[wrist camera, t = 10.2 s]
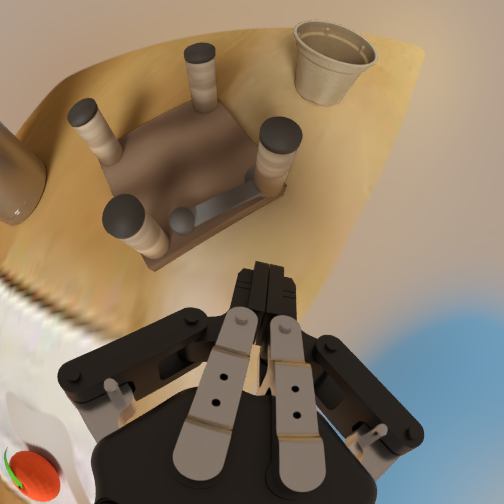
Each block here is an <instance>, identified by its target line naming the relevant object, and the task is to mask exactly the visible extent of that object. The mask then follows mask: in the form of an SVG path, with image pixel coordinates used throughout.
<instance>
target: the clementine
mask: <svg viewBox="0 0 504 504" xmlns="http://www.w3.org/2000/svg"><path fill="white" fill-rule="evenodd" d="M6 450H7V449H6ZM4 460H5V465H6V468H7V471H8V473H9V475H10V477H11V478H12V481H13V483H14V484H15V486H16V487H17V488H18V489H19V490H20V491H21V492H22V493H23V494H24V495H26V496H28V497H29V498H31V499H33V500H36V501H41V502H46V501H50V500H52V499H54V498H56V496H57V495H58V493H59V491H60V480H59V476H58V474H57V472H56V470H55V469H54V467H53V466H52V465H51V464H50V463H49V462H48V461H47V460H46V459H45V458H44V457H42V456H41V455H39V454H36V453H34V452H30V451H21V452H17V453H16V454H15V455H14V456H13V457H12V458H11V460H10V462H9V465H8V462H7V459H6V451H5V454H4Z"/></svg>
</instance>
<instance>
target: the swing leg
mask: <svg viewBox="0 0 504 504" xmlns="http://www.w3.org/2000/svg"><path fill="white" fill-rule="evenodd" d="M302 137H303V134H302V130H301V128H300V127H299V125H298V124H297V123H296V122H294V121H293V120H291V119H289V118H285V117H272V118H269V119H267V120H266V121H264V123H263V124H262V125H261V128H260V135H259V138H260V140H259V147H258V153H257V160H256V167H255V173H254V179H252V180H250V181H248V182H246V183H244V184H241V185H239V186H237V187H235V188H233V189H231V190H228V191H226V192H224V193H222V194H220V195H218V196H216V197H214V198H212V199H209V200H207V201H205V202H203V203H201V204H199V205H197V206H195V207H193V208H191V209H188V208H185V207H179V208H176V209H175V210H173V211H172V212H171V214H170V216H169V224H170V226H171V227H172V229H173V230H174V231H175V233H177V234H178V235H182V236H185V235H188V234H190V233H191V232H192V231H193V230H194V228H195V227H196V226H198V225H200V224H202V223H204V222H206V221H208V220H210V219H212V218H214V217H216V216H218V215H220V214H222V213H225V212H227V211H229V210H231V209H233V208H235V207H237V206H239V205H241V204H243V203H245V202H247V201H250V200H252V199H254V198H256V197H258V196H260V195H262V196H265V197H273V196H276V195H278V194H279V193H280V192H281V190H282V188H283V185H284V183H285V180H286V177H287V175H288V172H289V170H290V167H291V164H292V162H293V159H294V157H295V154H296V151H297V149H298V147H299V146H300V143H301V140H302Z"/></svg>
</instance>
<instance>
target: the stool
mask: <svg viewBox="0 0 504 504" xmlns="http://www.w3.org/2000/svg"><path fill="white" fill-rule="evenodd" d="M215 55H216V54H215V47H214V46H213V45H211V44H209V43H196V44H193V45H190V46H189V47H187V48H186V49H185V50H184V58H185V60H186V67H187V73H188V79H189V85H190V91H191V97H192V100H191V101H189V102H186V103H184V104H182V105H180V106H178V107H176V108H174V109H172V110H170V111H168V112H166V113H164V114H162V115H160V116H158V117H156V118H154V119H153V120H151V121H149V122H147V123H145V124H143V125H142V126H140V127H138V128H136V129H135V130H133V131H131V132H129V133H128V134H126V135H124V136H123V137H121V138H120V139H118V140H117V138H116V137H115V135H114V134H113V132H112V130H111V129H110V127H109V125H108V124H107V122H106V120H105V119H104V117H103V115H102V114H101V112H100V110H99V109H98V106H97V104H96V102H95V100H94V99H92V98H86V99H83V100H81V101H79V102H78V103H76V104H75V105H74V106H73V107H72V108H71V110H70V111H69V113H68V116H67V119H68V121H69V123H70V124H71V125H72V126H73V127H74V128H75V130H76V131H77V132H78V134H79V135H80V136H81V137H82V139H83V140H84V141H85V143H86V144H87V145H88V146H89V148H90V149H91V150H92V151H93V153H94V154H95V155H96V156H97V158H98V160H99V162H100V165H101V167H102V170H103V172H104V175H105V177H106V180H107V182H108V184H109V187H110V189H111V191H112V194H113V196H114V198H113V199H111V200H110V201H109V202H108V204H107V205H106V207H105V209H104V211H103V216H102V222H103V226H104V228H105V230H106V231H107V232H108V233H109V234H111V235H112V236H114V237H115V238H118V239H120V240H121V241H123V242H124V243H126V244H127V245H129V246H130V247H132V248H133V249H135V250H137V251H138V252H140V253H141V255H142V257H143V259H144V261H145V263H146V264H147V266H148V268H149V269H151V270H153V271H157V270H159V269H160V268H162V267H163V266H165V265H167V264H168V263H170V262H171V261H173V260H175V259H176V258H178V257H179V256H181V255H183V254H184V253H186V252H187V251H189V250H191V249H192V248H194V247H195V246H197V245H199V244H200V243H202V242H204V241H205V240H207V239H209V238H210V237H212V236H214V235H215V234H217V233H219V232H220V231H222V230H224V229H225V228H227V227H229V226H230V225H232V224H234V223H235V222H237V221H239V220H240V219H242V218H244V217H245V216H247V215H249V214H251V213H252V212H254V211H256V210H257V209H259V208H261V207H263V206H264V205H266V204H268V203H269V202H271V201H273V200H275V199H276V198H278V197H280V196H282V195H283V194H284V192H285V189H286V187H287V185H286V184H285V183H284V185H283V188H282V190H281V192H280V193H279V194H278V195H276V196H273V197H265V196H262V195H260V196H258V197H256V198H254V199H252V200H250V201H247V202H245V203H243V204H241V205H239V206H237V207H235V208H233V209H231V210H229V211H227V212H225V213H222V214H220V215H218V216H216V217H214V218H212V219H210V220H208V221H206V222H204V223H202V224H200V225H198V226H196V227H195V228H194V230H193V231H192V232H191V233H190V234H188V235H185V236H182V235H178V234H177V233H175V231H174V230H173V229H172V227H171V226H170V224H169V216H170V214H171V212H172V211H173V210H175V209H176V208H179V207H185V208H188V209H191V208H193V207H195V206H197V205H199V204H201V203H203V202H205V201H207V200H209V199H212V198H214V197H216V196H218V195H220V194H222V193H224V192H226V191H228V190H231V189H233V188H235V187H237V186H239V185H241V184H244V183H246V182H248V181H250V180H252V179H254V173H255V167H256V160H257V153H258V147H257V146H256V145H255V143H254V142H253V141H252V140H251V138H250V137H249V136H248V135H247V133H246V132H245V131H244V130H243V129H242V127H241V126H240V125H239V124H238V122H237V121H236V120H235V119H234V118H233V116H232V115H231V114H230V113H229V112H228V111H227V109H226V108H225V107H224V106H223V105H222V103H221V102H220V101H219V100H218V99H217V85H216V66H215Z"/></svg>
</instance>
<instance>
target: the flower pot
mask: <svg viewBox="0 0 504 504" xmlns="http://www.w3.org/2000/svg"><path fill="white" fill-rule="evenodd" d="M294 36H295V38H296V44H297V47H298V55H297V68H296V80H295V86H296V89H297V91H298V93H299V94H300V95H301V96H302V97H303V98H305V99H306V100H311V101H313V102H315V103H316V104H318V105H323V106H331V105H335V104H337V103H339V102H340V101H341V100H342V98H343V97H344V95H345V94H346V92H347V91H348V90H349V89H350V87H351V86H352V85H353V83H354V82H355V81H356V79H357V78H358V77H359V76H360V74H361V73H362V72H364V71H366V70H367V69H368V68H369V67H371V66H373V65H375V64H376V62H377V60H378V54H377V51H376V49H375V48H374V47H373V45H372V44H371V43H370V42H369V41H368V40H367V39H365V38H364V37H363V36H361V35H360V34H358V33H357V32H355V31H353V30H351V29H349V28H347V27H345V26H342V25H339V24H336V23H333V22H329V21H322V20H309V21H304V22H301V23H299V24H297V25H296V26H295V28H294Z"/></svg>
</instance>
